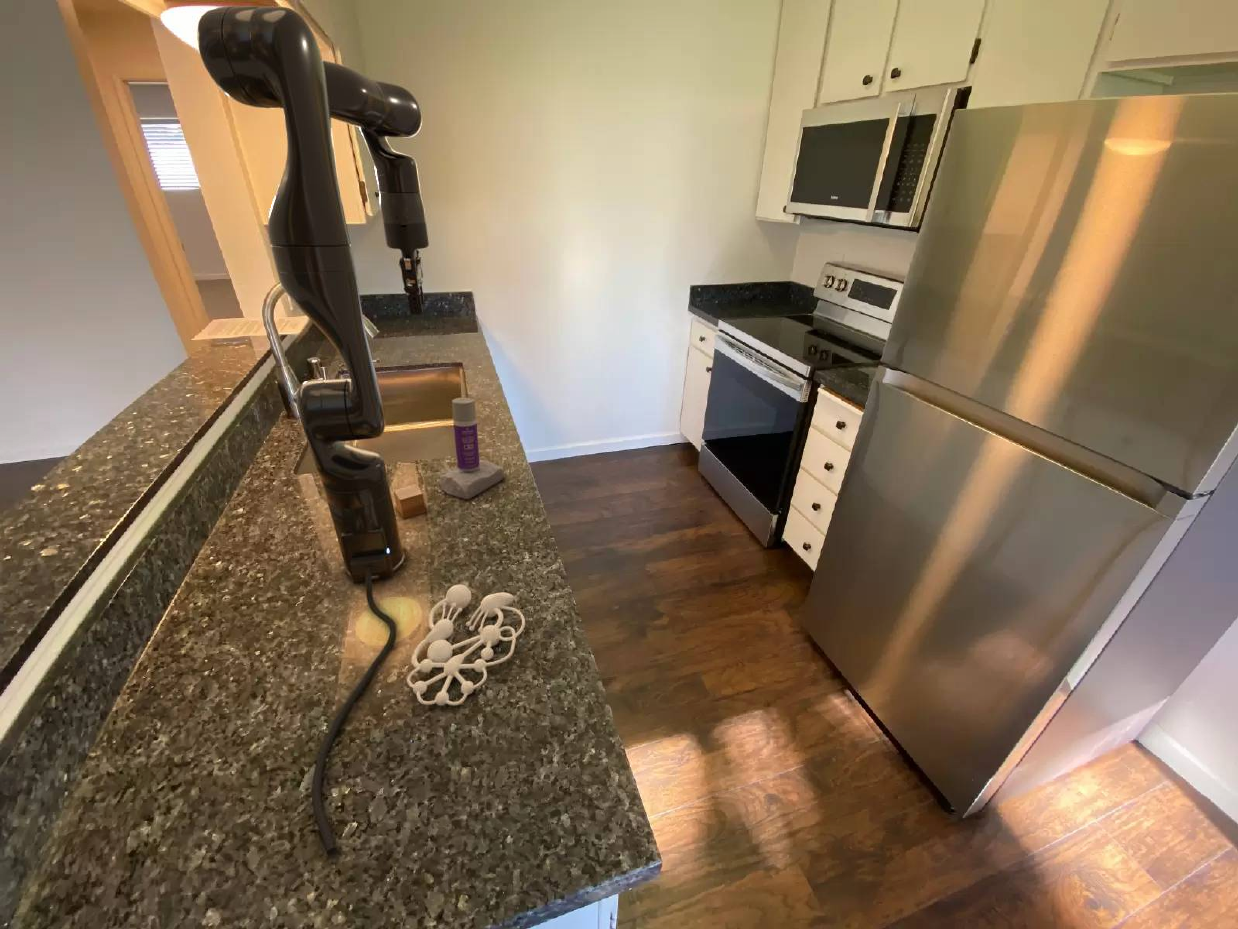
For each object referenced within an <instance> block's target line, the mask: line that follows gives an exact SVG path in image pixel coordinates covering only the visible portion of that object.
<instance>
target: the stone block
mask: <svg viewBox="0 0 1238 929" xmlns="http://www.w3.org/2000/svg"><path fill="white" fill-rule="evenodd" d="M479 464H480V467H479V468H478V469H477V470H474V471H460V470H458V468H457V467H456V468H454V470H451V471H449V472H446V473H444V474H442V475H440V477H439V485H440V488H441V490H442V491H443V492H445V494H447V495H449V496H454V497H457V498H459V499H463V500H467V501H468V500H470V499H472V498H474V497H476V496H477V495H479V494H481V493H482V492H484V491H486V490H488V489H489V488H491V487H492V486H495V485H496V484H498V483H499V482H500V481H502V480H503V478H504V476H505V471H504V469H503V467H501V466H499V465H497V464H496V463H493V462H491V461H489V460H486V459H479Z"/></svg>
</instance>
